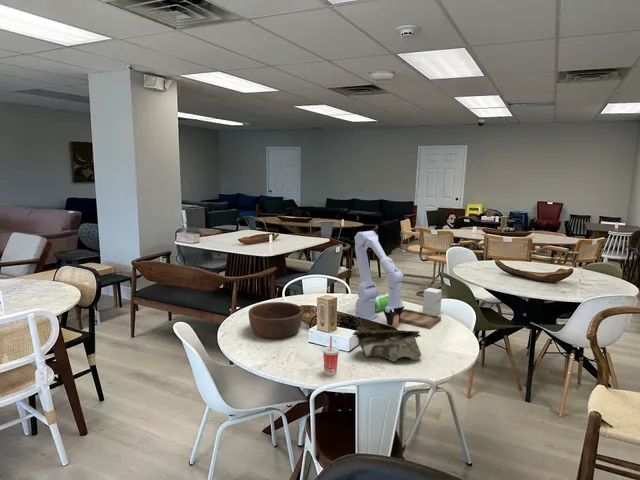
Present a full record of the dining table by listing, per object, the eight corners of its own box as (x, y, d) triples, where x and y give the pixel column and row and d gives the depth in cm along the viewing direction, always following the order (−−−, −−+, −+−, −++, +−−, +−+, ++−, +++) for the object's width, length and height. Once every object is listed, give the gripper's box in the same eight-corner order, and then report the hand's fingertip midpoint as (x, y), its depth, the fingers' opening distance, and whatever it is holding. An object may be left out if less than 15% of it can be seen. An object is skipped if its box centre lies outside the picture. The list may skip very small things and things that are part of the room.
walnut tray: (391, 320, 209) (391, 316, 209) (404, 312, 221) (404, 308, 221) (429, 329, 198) (429, 325, 197) (440, 320, 210) (441, 316, 209)
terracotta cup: (386, 325, 202) (386, 314, 201) (390, 322, 206) (391, 312, 205) (395, 328, 199) (396, 317, 198) (400, 325, 203) (400, 314, 202)
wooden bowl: (312, 326, 199) (312, 306, 198) (286, 346, 177) (286, 323, 175) (267, 318, 210) (267, 299, 208) (237, 336, 187) (237, 314, 186)
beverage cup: (337, 377, 151) (338, 340, 148) (320, 375, 152) (321, 339, 149) (339, 369, 157) (340, 334, 154) (323, 367, 158) (324, 332, 155)
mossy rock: (352, 367, 169) (353, 353, 157) (351, 337, 176) (352, 321, 164) (422, 367, 167) (428, 353, 155) (418, 337, 175) (424, 321, 163)
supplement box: (435, 316, 216) (436, 292, 214) (422, 313, 220) (423, 290, 218) (440, 312, 221) (442, 289, 219) (427, 309, 226) (428, 287, 224)
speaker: (376, 314, 218) (377, 300, 217) (366, 310, 224) (366, 297, 222) (397, 307, 230) (397, 294, 229) (386, 304, 235) (387, 291, 234)
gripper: (395, 300, 192) (394, 328, 194) (408, 293, 203) (407, 320, 205) (381, 297, 196) (380, 325, 198) (395, 291, 207) (394, 317, 210)
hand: (393, 322), depth 202 cm, fingers open, 7 cm apart
